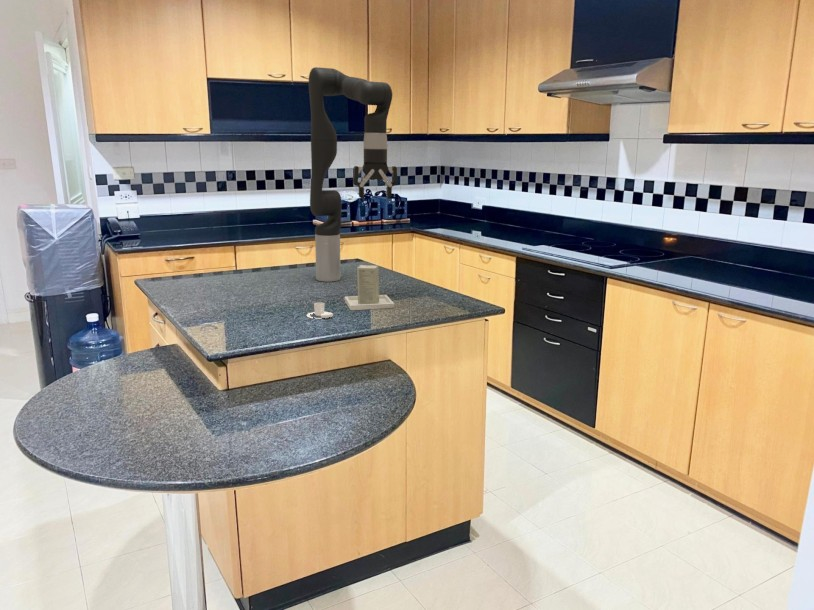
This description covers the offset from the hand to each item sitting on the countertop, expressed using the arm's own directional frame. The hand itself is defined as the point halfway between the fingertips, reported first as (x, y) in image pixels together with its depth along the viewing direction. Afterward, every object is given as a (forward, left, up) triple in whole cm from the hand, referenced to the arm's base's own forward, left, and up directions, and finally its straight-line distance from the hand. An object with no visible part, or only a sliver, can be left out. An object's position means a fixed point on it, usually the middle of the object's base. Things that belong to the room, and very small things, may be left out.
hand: (375, 198), depth 210 cm
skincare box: (+10, -4, -33) cm, 34 cm away
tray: (+10, -4, -33) cm, 35 cm away
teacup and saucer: (+22, -23, -34) cm, 46 cm away
